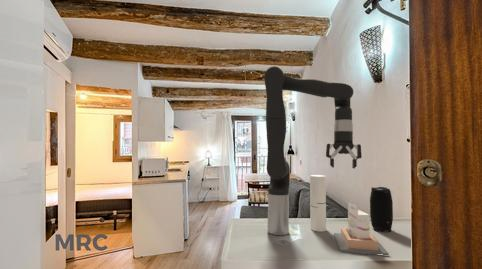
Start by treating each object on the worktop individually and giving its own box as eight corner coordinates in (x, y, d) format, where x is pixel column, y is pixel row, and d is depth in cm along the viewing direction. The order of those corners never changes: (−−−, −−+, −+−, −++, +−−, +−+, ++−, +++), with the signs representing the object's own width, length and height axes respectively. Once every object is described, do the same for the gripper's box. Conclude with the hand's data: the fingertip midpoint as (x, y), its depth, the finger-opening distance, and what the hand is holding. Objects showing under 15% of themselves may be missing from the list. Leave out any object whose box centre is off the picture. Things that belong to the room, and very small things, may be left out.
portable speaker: (395, 233, 111) (394, 189, 112) (372, 231, 114) (371, 188, 115) (389, 227, 119) (388, 186, 120) (368, 226, 122) (367, 186, 123)
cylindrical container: (327, 232, 113) (326, 176, 114) (311, 230, 114) (310, 176, 116) (325, 227, 120) (324, 175, 121) (309, 226, 121) (309, 174, 123)
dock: (340, 251, 91) (340, 240, 92) (333, 235, 109) (333, 225, 109) (388, 256, 88) (388, 244, 88) (373, 238, 105) (373, 228, 106)
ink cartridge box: (371, 246, 94) (370, 207, 95) (358, 246, 94) (357, 207, 95) (359, 238, 103) (358, 202, 104) (347, 238, 103) (347, 202, 103)
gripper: (327, 130, 107) (326, 167, 106) (363, 130, 103) (363, 169, 103) (325, 131, 114) (325, 166, 113) (359, 131, 111) (359, 167, 110)
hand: (343, 167), depth 108 cm, fingers open, 8 cm apart
